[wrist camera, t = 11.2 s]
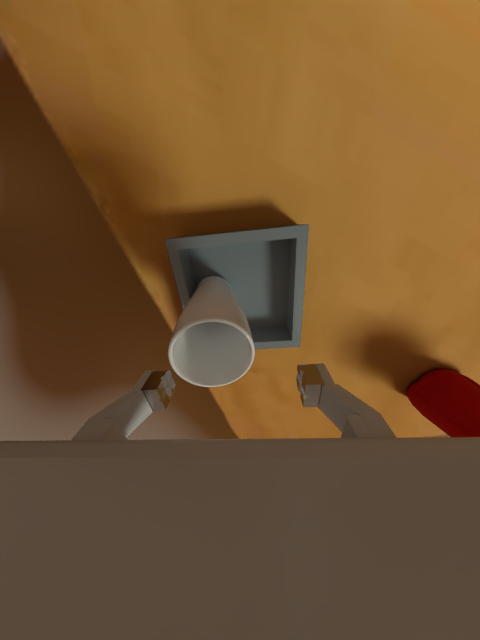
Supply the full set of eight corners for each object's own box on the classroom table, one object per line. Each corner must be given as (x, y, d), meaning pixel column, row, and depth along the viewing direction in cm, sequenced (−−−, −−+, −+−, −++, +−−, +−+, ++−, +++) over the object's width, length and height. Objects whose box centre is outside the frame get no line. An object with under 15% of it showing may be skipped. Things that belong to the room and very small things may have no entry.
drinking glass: (184, 301, 27) (153, 374, 14) (202, 260, 25) (187, 301, 12) (224, 319, 29) (230, 396, 16) (245, 283, 27) (273, 339, 14)
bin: (179, 236, 25) (164, 239, 21) (297, 224, 24) (308, 224, 19) (201, 334, 32) (194, 352, 28) (292, 329, 31) (300, 346, 27)
